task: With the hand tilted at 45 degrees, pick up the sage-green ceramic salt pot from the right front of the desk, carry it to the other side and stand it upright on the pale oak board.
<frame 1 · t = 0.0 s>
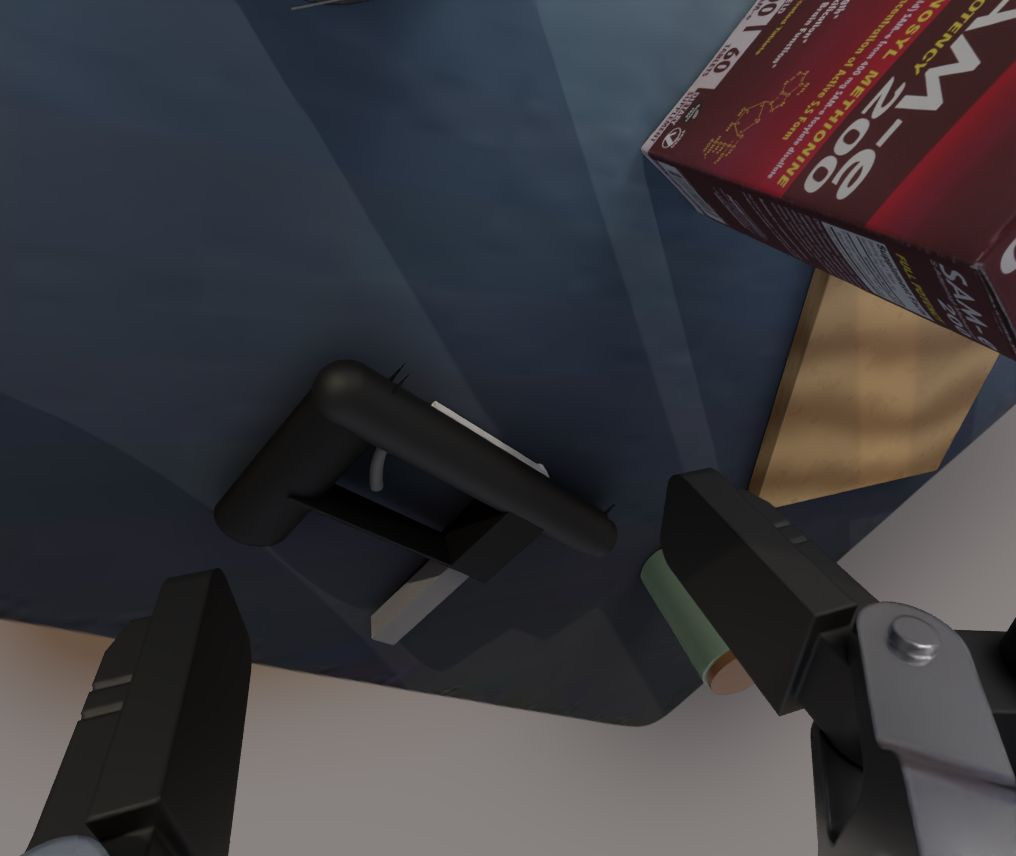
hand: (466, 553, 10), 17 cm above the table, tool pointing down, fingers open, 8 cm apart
oak board: (899, 332, 35), on the table
supplement box: (730, 99, 24), on the table
door handle: (416, 516, 33), on the table
salt pot: (669, 565, 42), on the table
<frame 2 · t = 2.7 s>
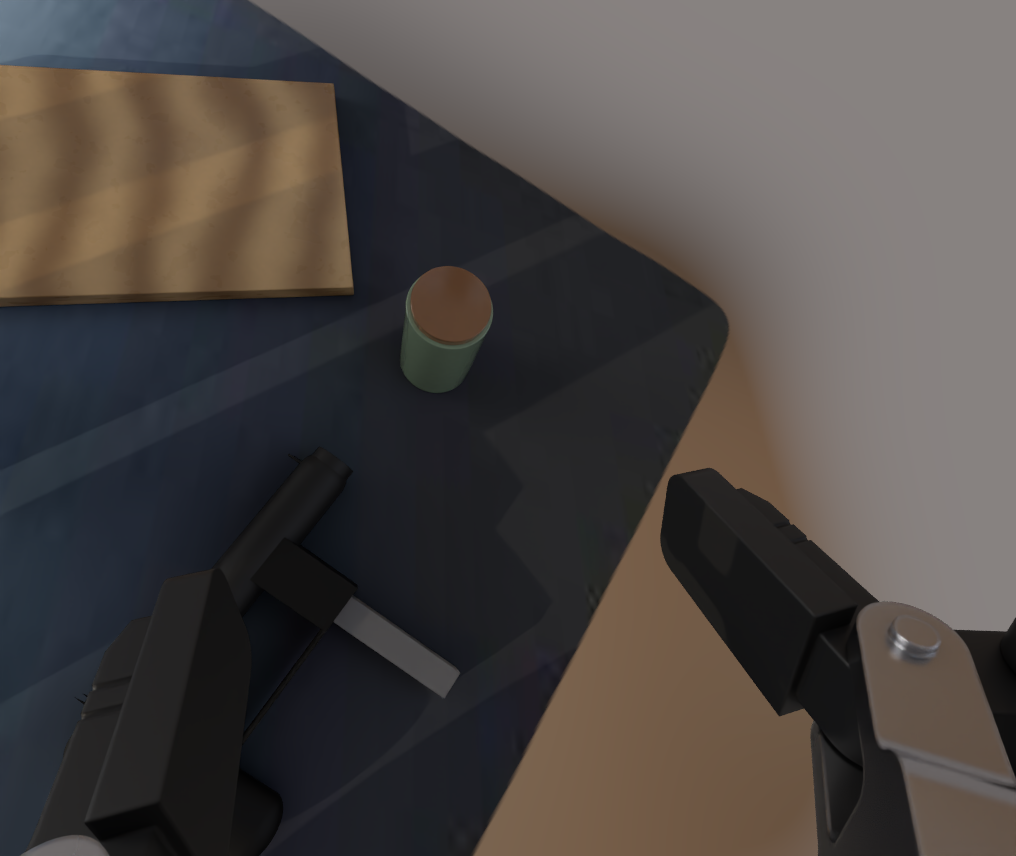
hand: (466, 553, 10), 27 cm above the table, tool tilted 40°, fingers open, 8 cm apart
oak board: (156, 189, 37), on the table
door handle: (305, 652, 33), on the table
salt pot: (435, 359, 39), on the table
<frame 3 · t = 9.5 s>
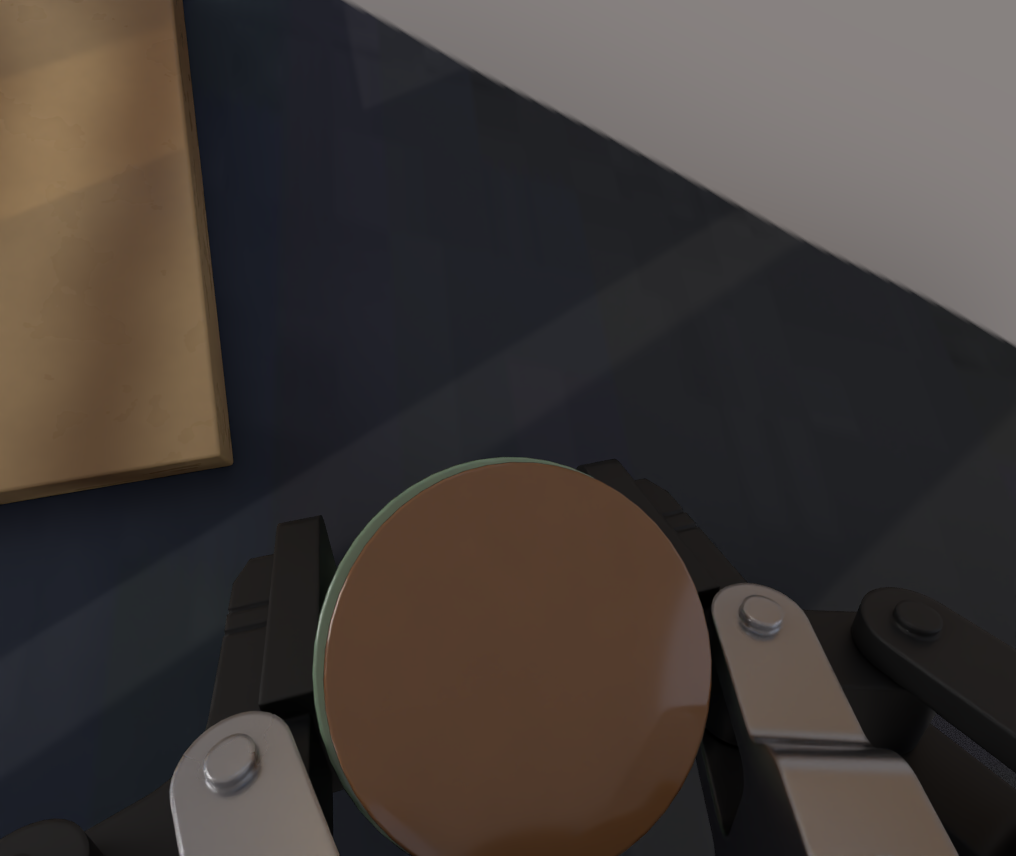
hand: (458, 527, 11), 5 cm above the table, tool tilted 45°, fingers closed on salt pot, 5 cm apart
salt pot: (457, 614, 15), on the table, touching gripper
when the fingers open (6 cm above the table, at t = 19.4 s): salt pot stays where it is, resting on oak board.
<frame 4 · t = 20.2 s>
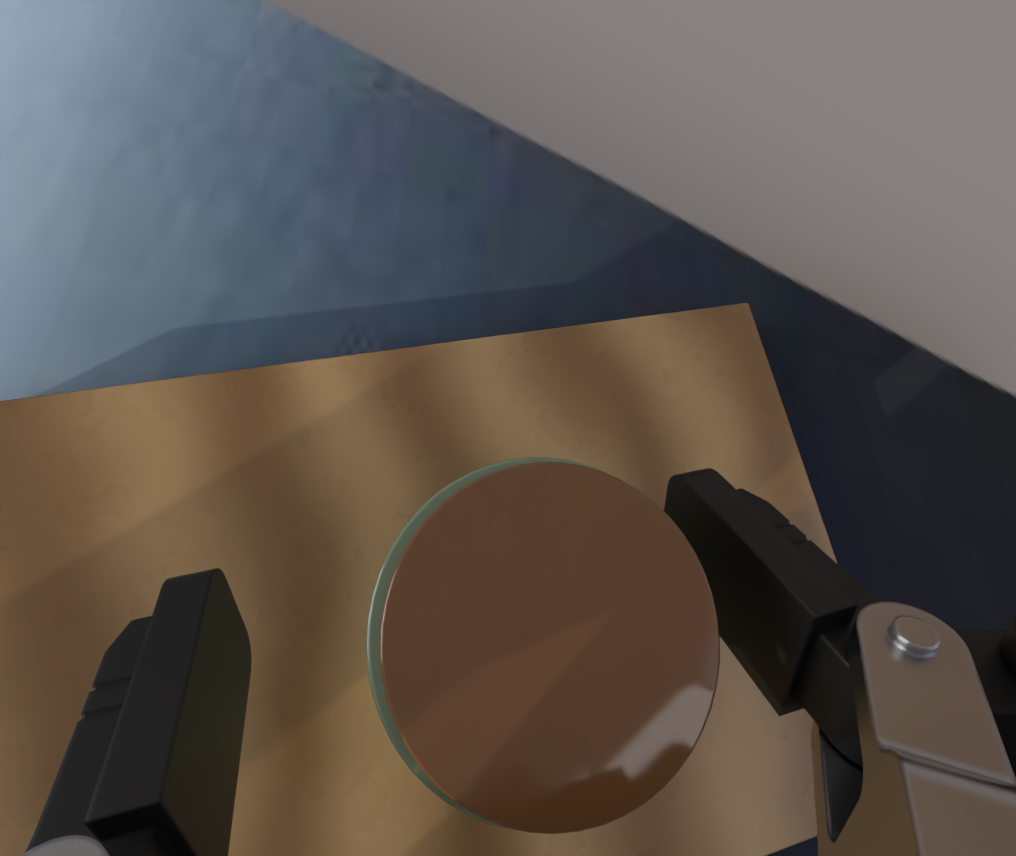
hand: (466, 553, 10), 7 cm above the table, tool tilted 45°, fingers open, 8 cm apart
oak board: (456, 610, 17), on the table
salt pot: (476, 605, 16), point 1 cm above the table, touching oak board
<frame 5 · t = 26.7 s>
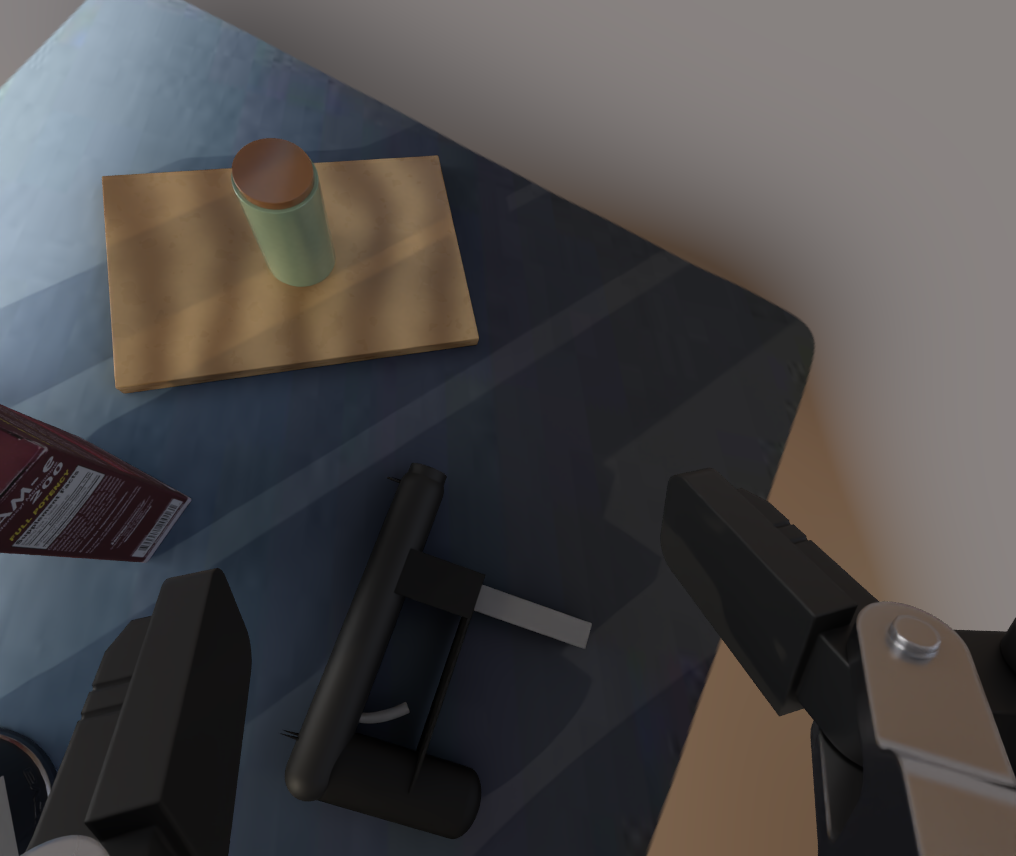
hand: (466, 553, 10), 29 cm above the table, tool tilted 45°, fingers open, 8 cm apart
oak board: (297, 267, 42), on the table
supplement box: (114, 501, 36), on the table
door handle: (452, 645, 37), on the table
salt pot: (301, 257, 41), point 1 cm above the table, touching oak board
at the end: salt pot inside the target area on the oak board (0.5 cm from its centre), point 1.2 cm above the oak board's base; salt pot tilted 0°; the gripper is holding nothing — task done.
